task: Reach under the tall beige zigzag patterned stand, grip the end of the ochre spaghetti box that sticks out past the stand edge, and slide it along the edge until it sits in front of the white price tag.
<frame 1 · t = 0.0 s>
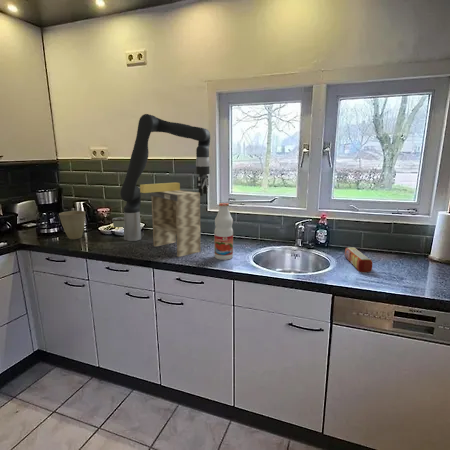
hand: (202, 194, 179), 29 cm above the counter, tool pointing down, fingers open, 8 cm apart
beige zigzag patterned stand: (176, 248, 177), on the counter
fruit juice: (223, 257, 163), on the counter
plant pot: (74, 238, 198), on the counter
snack package: (356, 265, 153), on the counter
food container: (123, 232, 212), on the counter
spaghetti box: (160, 191, 171), point 32 cm above the counter, touching beige zigzag patterned stand
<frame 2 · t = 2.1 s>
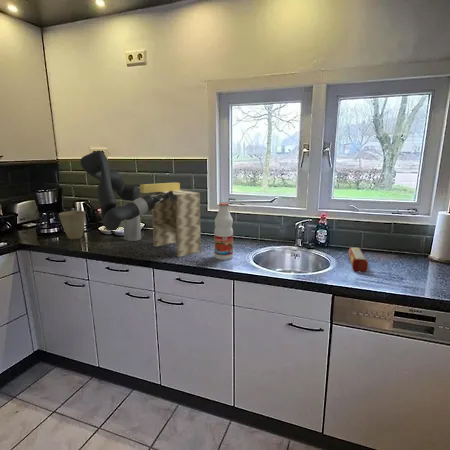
hand: (167, 193, 160), 32 cm above the counter, tool pointing upward, fingers open, 8 cm apart
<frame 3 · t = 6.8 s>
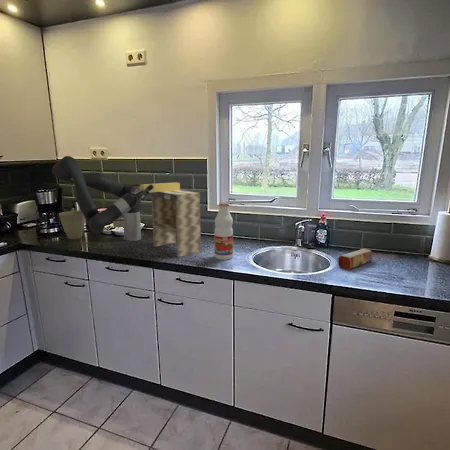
hand: (150, 185, 166), 35 cm above the counter, tool pointing upward, fingers closed on spaghetti box, 4 cm apart
spaghetti box: (160, 191, 171), point 32 cm above the counter, touching gripper, beige zigzag patterned stand
when the fingers open (36 cm above the counter, at t = 12.0 s): spaghetti box stays where it is, resting on beige zigzag patterned stand.
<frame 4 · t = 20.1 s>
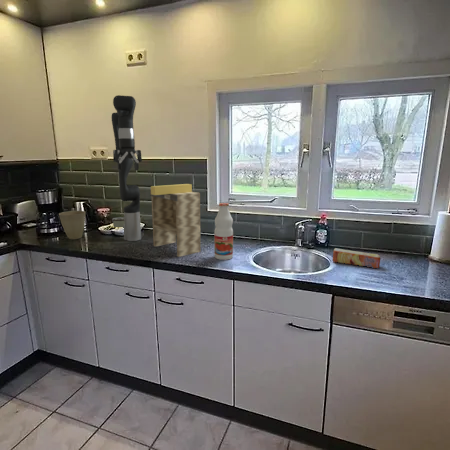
hand: (128, 170, 162), 43 cm above the counter, tool pointing down, fingers open, 8 cm apart
spaghetti box: (172, 193, 163), point 32 cm above the counter, touching beige zigzag patterned stand
at the end: spaghetti box 0.0 cm from the target spot, point 32.0 cm above the counter; the gripper is holding nothing; spaghetti box tilted 0° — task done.
